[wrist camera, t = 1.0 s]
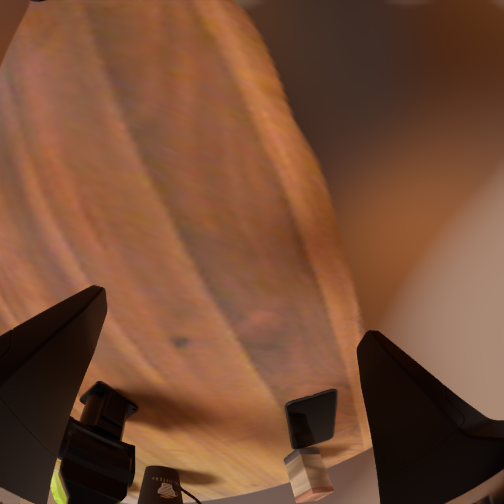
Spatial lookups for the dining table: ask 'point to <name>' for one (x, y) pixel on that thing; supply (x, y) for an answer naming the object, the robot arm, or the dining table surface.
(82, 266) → the dining table surface
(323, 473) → the birch block
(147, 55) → the dining table surface
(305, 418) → the smartphone
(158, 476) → the coffee mug
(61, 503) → the lettuce
